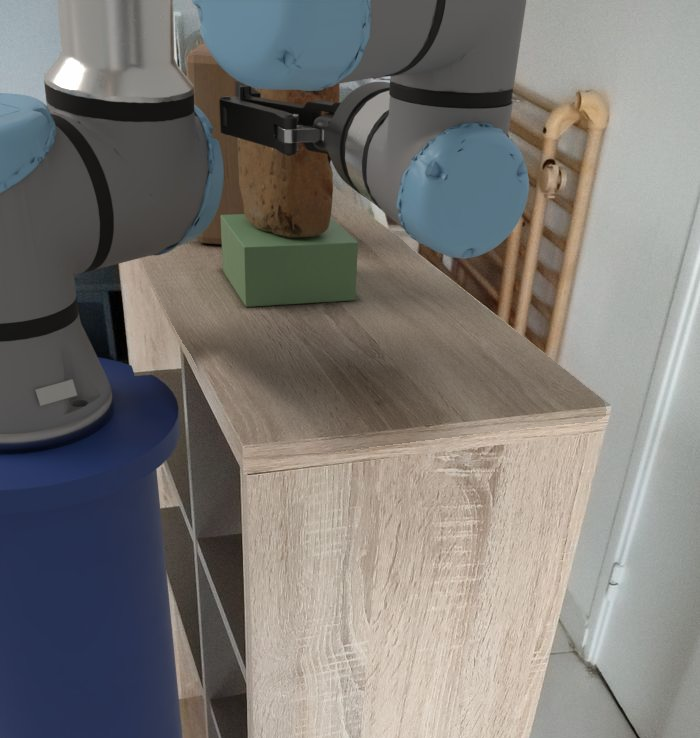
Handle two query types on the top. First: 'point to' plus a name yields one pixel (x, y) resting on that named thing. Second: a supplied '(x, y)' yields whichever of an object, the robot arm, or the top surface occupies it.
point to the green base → (288, 264)
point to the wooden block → (216, 132)
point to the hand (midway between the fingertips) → (311, 98)
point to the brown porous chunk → (287, 178)
